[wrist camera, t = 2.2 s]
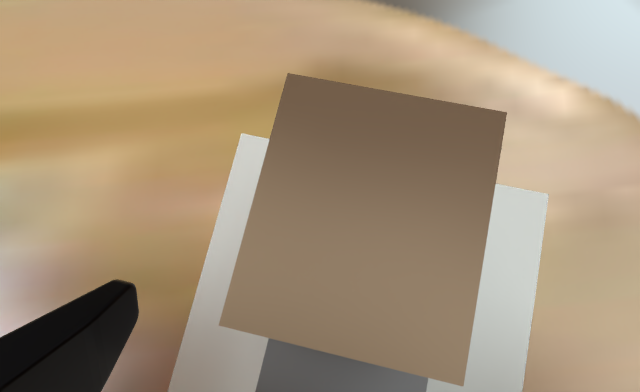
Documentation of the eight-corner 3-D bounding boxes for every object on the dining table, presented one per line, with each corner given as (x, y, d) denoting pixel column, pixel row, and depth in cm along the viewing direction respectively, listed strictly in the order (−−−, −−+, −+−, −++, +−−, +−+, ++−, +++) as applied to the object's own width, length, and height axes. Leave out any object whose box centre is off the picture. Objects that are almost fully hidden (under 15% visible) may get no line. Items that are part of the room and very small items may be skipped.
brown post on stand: (409, 423, 17) (524, 636, 5) (268, 386, 18) (83, 500, 6) (449, 200, 19) (603, -21, 7) (320, 174, 20) (260, -71, 8)
